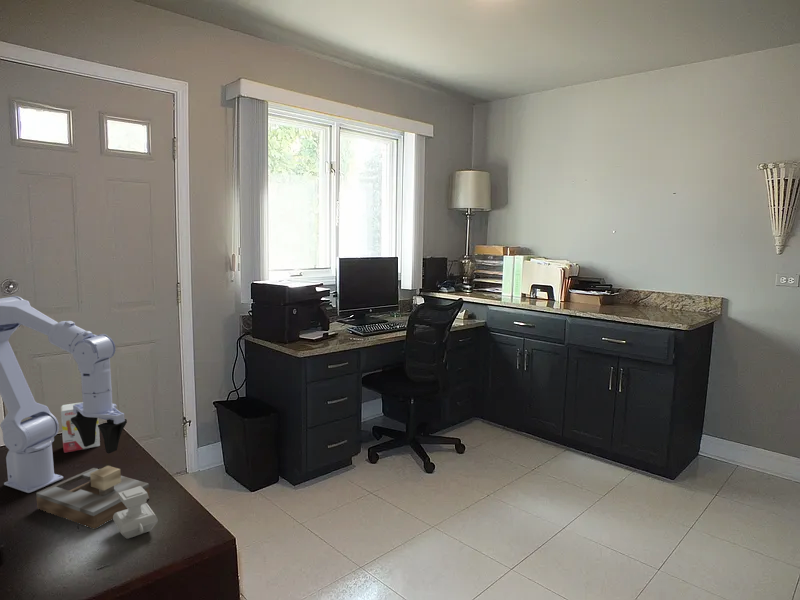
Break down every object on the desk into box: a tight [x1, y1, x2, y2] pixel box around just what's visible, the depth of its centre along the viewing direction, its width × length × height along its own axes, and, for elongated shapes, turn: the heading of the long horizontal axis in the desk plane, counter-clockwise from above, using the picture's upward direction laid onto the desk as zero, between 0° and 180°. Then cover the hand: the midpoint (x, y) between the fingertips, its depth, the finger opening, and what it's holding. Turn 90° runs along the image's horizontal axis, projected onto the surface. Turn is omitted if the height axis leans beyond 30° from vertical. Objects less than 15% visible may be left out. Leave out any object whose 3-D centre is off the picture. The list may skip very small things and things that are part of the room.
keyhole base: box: [35, 467, 151, 530], centre depth 112 cm, size 18×13×4 cm
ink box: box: [60, 401, 101, 453], centre depth 140 cm, size 9×5×12 cm, turn 124°
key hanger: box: [90, 465, 122, 496], centre depth 111 cm, size 5×5×7 cm
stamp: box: [112, 486, 159, 540], centre depth 102 cm, size 9×7×8 cm
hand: (100, 448), depth 116 cm, fingers open, 7 cm apart
